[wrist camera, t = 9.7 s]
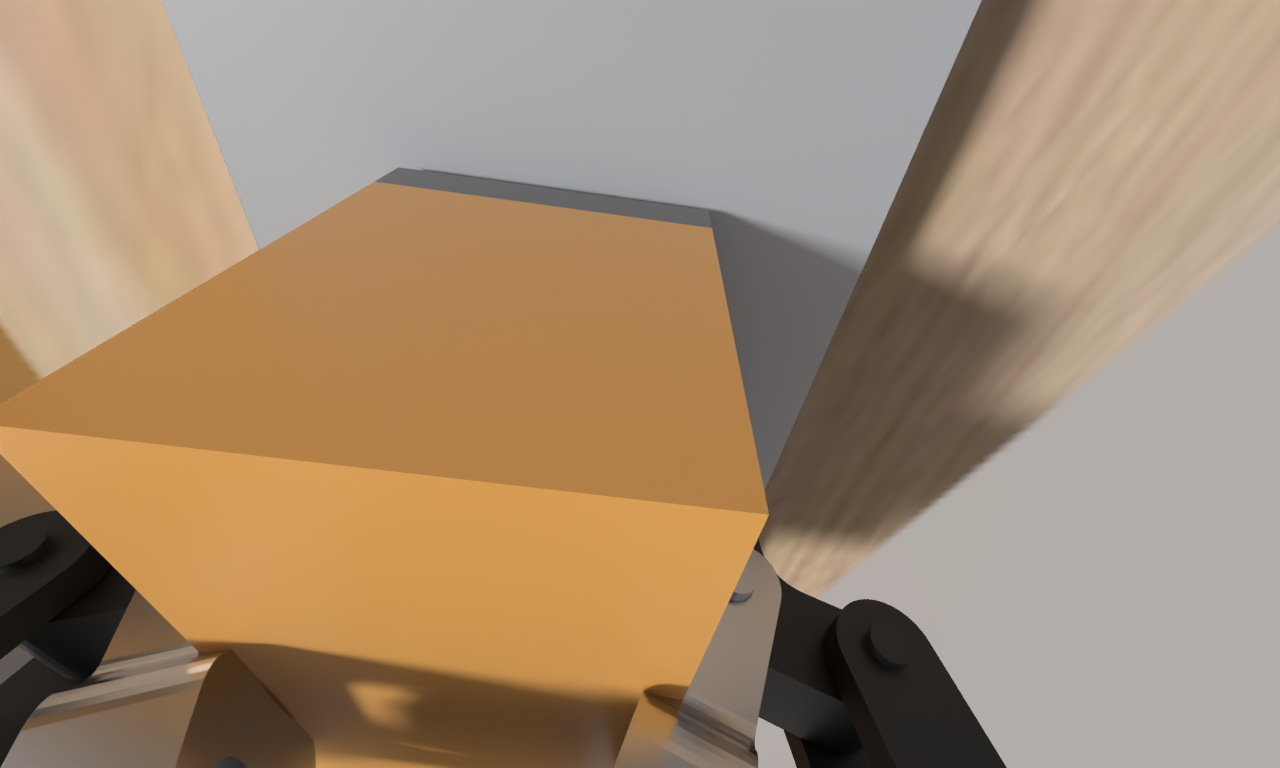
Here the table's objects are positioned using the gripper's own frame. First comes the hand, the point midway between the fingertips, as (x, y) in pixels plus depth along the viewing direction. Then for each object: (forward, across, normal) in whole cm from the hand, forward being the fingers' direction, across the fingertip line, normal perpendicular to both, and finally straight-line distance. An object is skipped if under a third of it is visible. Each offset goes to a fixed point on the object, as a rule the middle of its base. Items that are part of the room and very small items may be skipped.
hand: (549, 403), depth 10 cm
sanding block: (0, 0, 0) cm, 0 cm away
